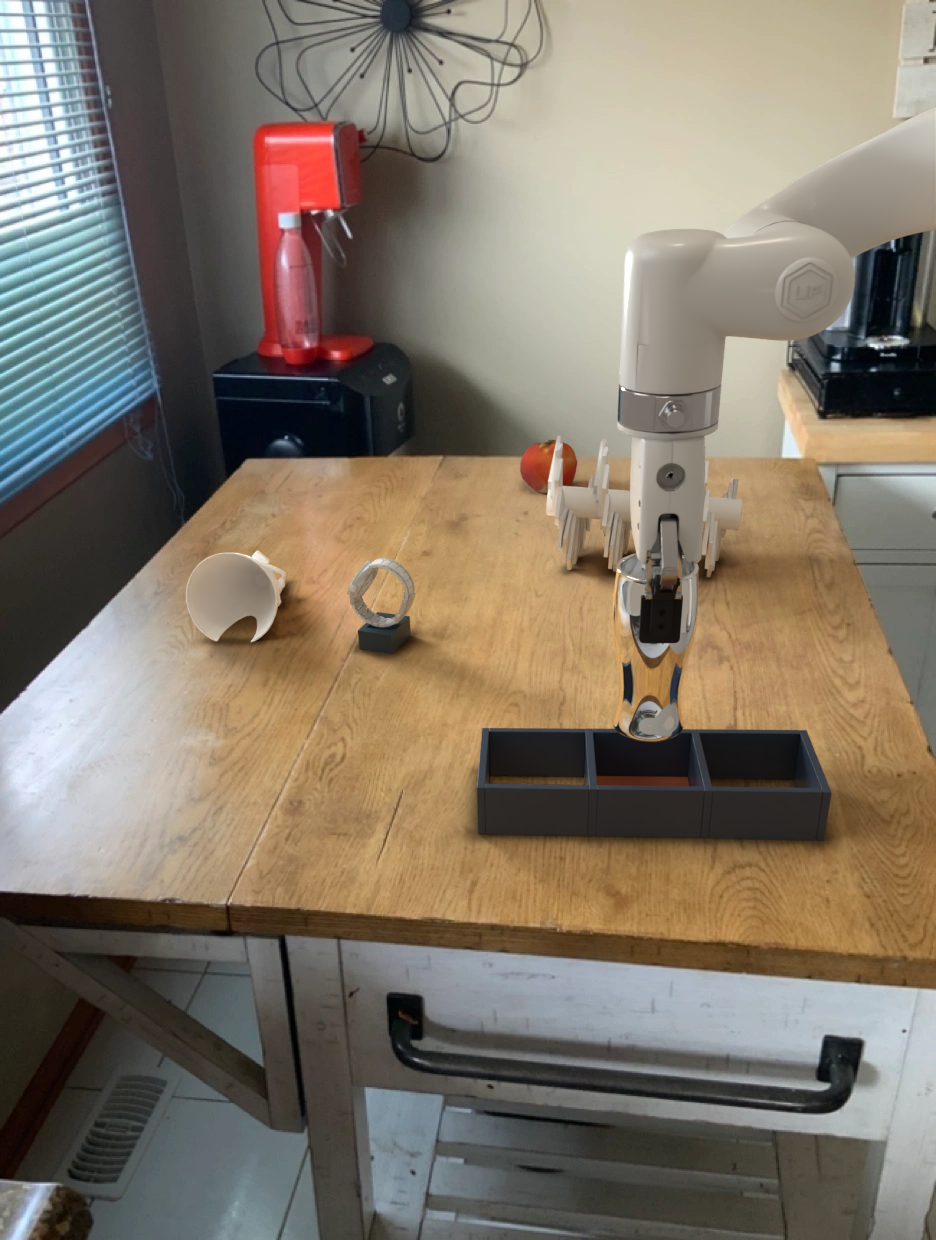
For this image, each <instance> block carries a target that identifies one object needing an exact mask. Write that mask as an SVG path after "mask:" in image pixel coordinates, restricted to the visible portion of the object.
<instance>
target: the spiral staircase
mask: <svg viewBox="0 0 936 1240" xmlns="http://www.w3.org/2000/svg"><path fill="white" fill-rule="evenodd" d="M555 440H556V445H555V450H554V454H553V459H552V464H551V469H550V474H549V479H548V493H546V494H547V495H546V507H545V510H546V511H545V514H546V516H553V517H554V524H553V525H554V526H556V528H557V545H556V550H557V551H561V564H566V568H567V571H572V569H573V565H576V564H577V562H578V559H579V555H583V553H584V548H585V543H586V539H587V532H591V528H592V527H591V526H592V520H600V525H599V528H600V529H599V530H600V531H602V532H603V537H605V538H604V539H605V540H604V552H603V558H608V565H607V569H608V570H612V572H613V573H616V571H617V563H618V562H619V561H620V560H621V559H622V558H624V557H623V556H624V555H628V551H629V546H630V545H629V544H630V539H631V531H632V527H631V512H630V490H626V489H614V488H613V489H611V488H610V486H609V485H610V467H611V465H610V464H609V450H610V448H609V445H608V438H602V439H601V440H600V445H599V449H598V458H597V464H596V469H595V473H594V474H592V476H591V477H589V479H588V486H587V487H585V486H575V485H573V486H572V485H570V486H562V485H563V459H562V449H563V444H562V442H563V439H562V435H557V436H556V439H555ZM706 450H707V449H706V445H705V454H707V453H706V452H707V451H706ZM709 466H710V460H705V490H704V510H703V531H702V556H705V560H704V570H706V578H711V576H712V572H714V571H715V566H716V562H719V560H720V559H719V558H720V553H721V546H722V540H723V539H725V535H726V531H728V530H730V531H739V529H740V524H741V518H742V511H743V510H742V509H743V498H737V496H738V495H737V494H738V488H739V481H740V479H739V478H736V477H732V478H731V480H730V482H729V484H728V489H727V492H723V494H722V496H710V495H711V489H708V488H707V485H708V475H709Z"/></svg>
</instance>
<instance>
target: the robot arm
mask: <svg viewBox="0 0 936 1240" xmlns="http://www.w3.org/2000/svg"><path fill="white" fill-rule="evenodd" d="M931 231H936V106H934V107H931V108H929V109H927V110H925V111H923V112H921V113H918V114H916V115H914V116H912V117H910V118H908V119H906V120H905V121H902V122H900V123H899V124H897V125H895V126H894V127H892V128H890V129H887V130H885V131H884V132H882V133H880V134H878V135H876V136H874V137H872V138H870V139H869V140H866V141H864V142H861V143H860V144H858V145H855V146H853V147H851V148H850V149H848V150H846V151H843V152H842V153H840V154H837V155H836V156H834V157H832V158H831V159H829V160H827V161H825V162H823V163H822V164H820V165H818V166H816V167H814V168H813V169H811V170H809V171H808V172H806V173H804V174H803V175H801V176H799V177H798V178H796V179H794V180H793V181H791V182H790V183H788V184H787V185H786V186H785V187H784V186H783V188H781V189H779V190H778V191H776V192H775V193H773V194H772V195H770V196H769V197H767V198H765V199H764V200H762V201H761V202H760V203H758V204H757V205H755V206H753V207H751V208H750V209H749V210H747V211H746V212H745V213H743V214H742V215H740V216H739V217H738V218H737V219H736V220H735V221H734V222H732V223H731V224H730V225H729V226H728V227H727V228H726V229H725V231H724V232H723V233H720V232H718V231H716V230H711V229H701V228H671V229H662V230H661V229H660V230H653V231H649V232H645V233H642V234H640V235H638V236H635V238H633V239H632V240H631V241H630V243H629V244H628V245H627V248H626V250H625V254H624V261H623V275H622V301H621V302H622V304H621V323H620V325H621V329H620V348H619V349H620V350H619V352H620V353H619V371H618V372H619V373H618V397H617V420H616V428H617V430H618V431H619V432H620V433H622V434H624V435H627V436H630V437H631V449H630V451H631V452H630V477H629V479H630V480H629V491H630V512H631V527H632V530H631V534H632V540H633V545H634V549H635V554H637V558H638V560H639V561H640V562H642V563H643V564H645V595H641V605H640V623H639V640H640V642H641V643H677V642H679V640H680V631H681V618H682V605H683V595H682V563H683V562H682V555H684V556H685V558H686V561H687V562H690V561H691V562H692V564H698V563H699V562H700V561H701V560H702V556H703V555H702V531H703V510H704V490H705V461H706V453H705V446H706V436H708V435H711V434H713V433H714V432H716V431H717V430H718V429H719V416H720V405H721V393H722V381H723V380H722V379H723V370H724V359H725V351H726V350H725V349H726V338H727V337H733V338H748V339H755V340H757V339H758V340H767V341H780V342H782V341H784V342H786V341H787V342H789V341H798V340H804V339H806V338H810V337H813V336H815V335H817V334H819V333H821V332H823V331H825V330H826V329H828V328H829V327H831V326H832V325H833V324H834V323H835V322H836V321H837V320H838V319H839V318H840V317H841V316H842V315H843V314H844V313H845V311H846V309H847V308H848V306H849V304H850V302H851V300H852V297H853V294H854V291H855V284H856V275H855V274H856V273H855V267H854V263H853V261H852V259H853V258H855V257H857V256H859V255H861V254H863V253H865V252H867V251H869V250H872V249H874V248H877V247H878V246H881V245H884V244H886V243H888V242H891V241H894V240H897V239H901V238H903V237H907V236H912V235H916V234H920V233H924V232H925V233H926V232H931ZM651 552H660V558H653V559H651ZM653 567H660V569H659V574H656V575H655V577H654V578H653Z"/></svg>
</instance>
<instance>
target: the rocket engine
mask: <svg viewBox="0 0 936 1240" xmlns="http://www.w3.org/2000/svg"><path fill="white" fill-rule="evenodd" d="M270 562H271V559H270V558H268V557H267V556H266V555H265V554H264V553H262V552H261V551H260V550H259V549H258V550H256V551H255V552H254V553H253V554H252V556H250V555H247V554H243V553H239V552H227V551H226V552H219V553H215V554H212V555H210V556H208V557H206V558H205V559H203V560H201V561H200V562H199V563H198V564H197V565H196V566H195V567H194V569H193V571H192V572H191V574H189V578H188V581H187V583H186V591H185V602H186V603H185V604H186V607H187V611H188V614H189V616H190V619H191V620H192V622H193V624H194V625H195V626H196V628H197V629H198V630H199V631H200V632H201V633H202V634H203V635H204V636H206V637H207V638H208V639H210V640H212V641H213V642H218V641H219V639H220V637H221V636H222V635H223V634H224V633H225V632H226V631H227V630H228V629H229V628H230V627H231V626H232V625H234V624H235V623H236V622H238V621H239V620H241V619H243V618H246V617H253V618H255V619H256V631H255V634H254V636H253V637H252V638H251V640H250V643H254V642H256V641H257V640H259V639H261V638H262V637H263V636H264V635H265V634H266V633H267V632H268V631H269V630H270V628H271V627H272V625H273V623H274V620H275V618H276V616H277V613H278V607H280V606H281V604H282V599H281V594H282V591H283V590H284V588H286V580H287V574H286V572H285V571H284V570H283V569H281V568H279V567H277V566H275V565H272V564H270ZM275 574H279V575H281V577H280V578H278V579H277V577H276V575H275Z"/></svg>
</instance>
